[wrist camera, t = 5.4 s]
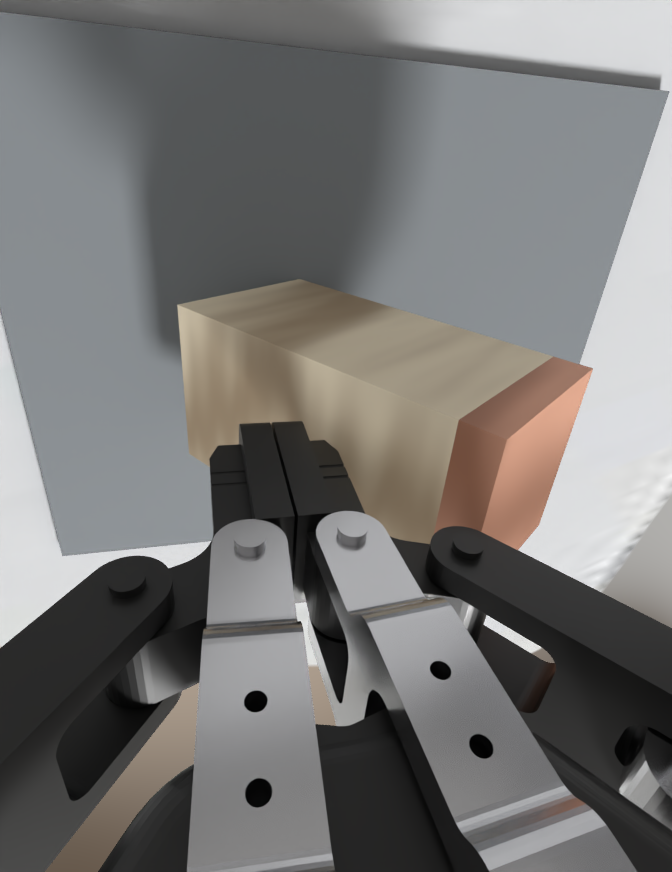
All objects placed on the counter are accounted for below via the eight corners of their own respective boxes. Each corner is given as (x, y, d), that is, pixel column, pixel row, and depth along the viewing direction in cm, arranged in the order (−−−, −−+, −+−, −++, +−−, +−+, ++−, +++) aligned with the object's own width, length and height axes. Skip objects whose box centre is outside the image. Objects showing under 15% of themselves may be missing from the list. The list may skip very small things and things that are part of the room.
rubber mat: (-71, 5, 13) (-77, 2, 13) (660, 91, 18) (669, 91, 18) (64, 549, 22) (62, 556, 22) (527, 503, 28) (531, 508, 27)
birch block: (177, 304, 15) (506, 439, 10) (299, 279, 18) (592, 368, 13) (189, 453, 18) (455, 624, 12) (294, 406, 21) (538, 525, 16)
